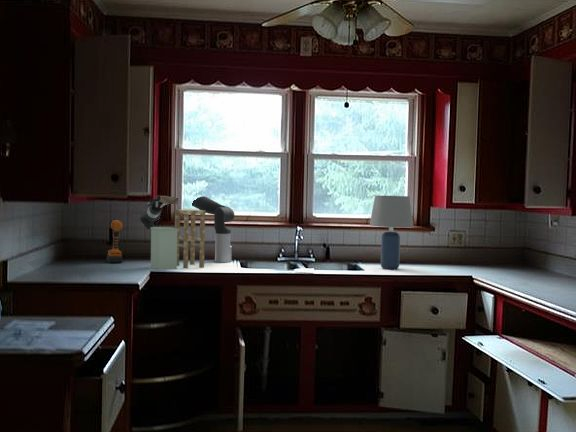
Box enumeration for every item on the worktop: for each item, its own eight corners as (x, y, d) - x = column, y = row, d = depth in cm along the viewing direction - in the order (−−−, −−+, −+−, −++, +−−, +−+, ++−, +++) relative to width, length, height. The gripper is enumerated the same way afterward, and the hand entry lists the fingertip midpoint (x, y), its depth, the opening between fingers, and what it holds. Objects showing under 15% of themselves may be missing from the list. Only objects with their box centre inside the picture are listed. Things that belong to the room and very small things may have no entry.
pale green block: (168, 265, 331) (168, 226, 330) (177, 268, 319) (178, 228, 318) (150, 266, 325) (150, 227, 324) (158, 269, 313) (159, 229, 312)
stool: (193, 264, 340) (194, 209, 338) (204, 267, 326) (205, 210, 325) (173, 265, 333) (174, 209, 332) (184, 268, 320) (185, 210, 318)
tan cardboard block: (162, 201, 350) (162, 195, 350) (178, 204, 326) (178, 198, 326) (156, 201, 348) (156, 195, 348) (172, 204, 324) (172, 198, 324)
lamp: (416, 272, 330) (419, 196, 328) (372, 271, 328) (375, 195, 326) (405, 266, 355) (407, 196, 353) (364, 265, 354) (366, 195, 352)
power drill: (104, 259, 351) (105, 218, 349) (117, 259, 354) (118, 218, 352) (109, 264, 331) (110, 220, 330) (123, 263, 334) (123, 220, 333)
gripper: (166, 215, 359) (175, 202, 345) (144, 215, 352) (152, 202, 338) (165, 204, 361) (173, 191, 348) (142, 204, 354) (150, 190, 341)
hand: (162, 196), depth 343 cm, fingers closed on tan cardboard block, 3 cm apart
